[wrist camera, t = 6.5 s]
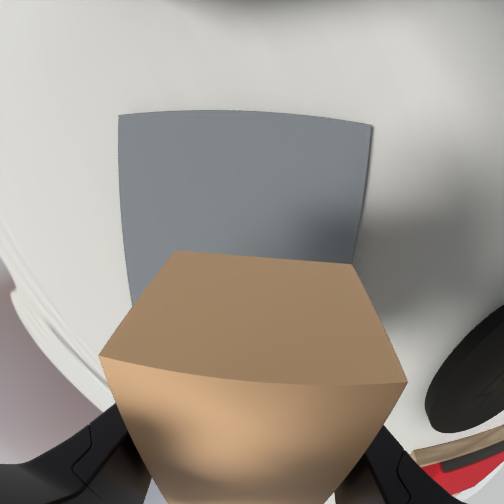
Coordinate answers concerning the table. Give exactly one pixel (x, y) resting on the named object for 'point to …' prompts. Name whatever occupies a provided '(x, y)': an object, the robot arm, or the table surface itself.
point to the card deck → (252, 378)
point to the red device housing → (466, 468)
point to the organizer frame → (457, 448)
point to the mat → (238, 187)
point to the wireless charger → (470, 379)
